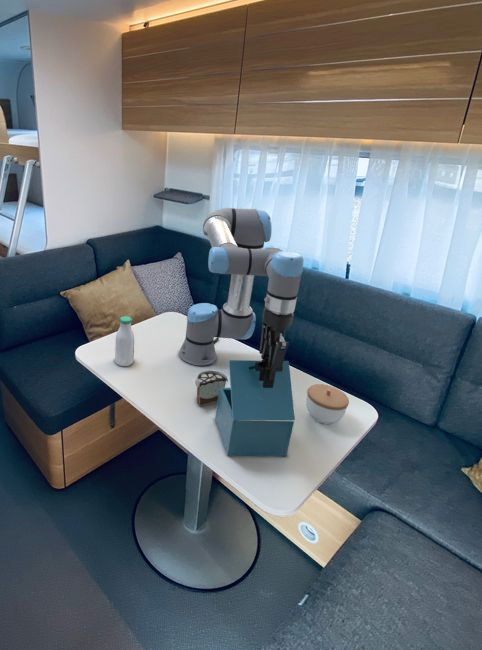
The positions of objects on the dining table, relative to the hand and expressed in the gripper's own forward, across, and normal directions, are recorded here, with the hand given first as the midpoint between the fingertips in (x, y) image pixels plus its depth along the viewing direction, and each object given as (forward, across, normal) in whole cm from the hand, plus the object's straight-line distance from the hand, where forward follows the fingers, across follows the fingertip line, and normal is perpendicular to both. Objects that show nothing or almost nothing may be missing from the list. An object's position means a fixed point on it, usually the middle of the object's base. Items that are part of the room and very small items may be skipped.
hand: (265, 383), depth 117 cm
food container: (+24, -24, -10) cm, 36 cm away
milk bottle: (+24, -48, -39) cm, 66 cm away
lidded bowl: (+24, -15, +29) cm, 40 cm away
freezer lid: (+4, -2, 0) cm, 5 cm away
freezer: (+24, -5, 0) cm, 24 cm away
